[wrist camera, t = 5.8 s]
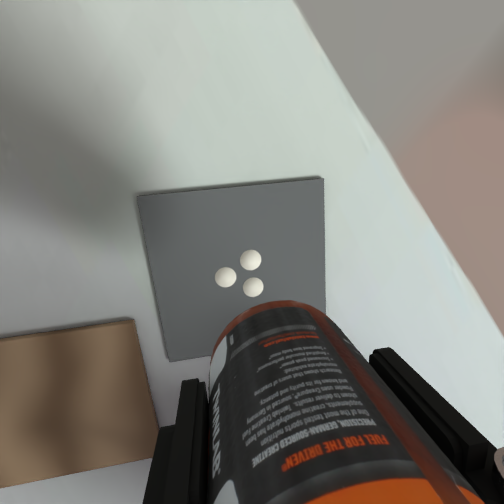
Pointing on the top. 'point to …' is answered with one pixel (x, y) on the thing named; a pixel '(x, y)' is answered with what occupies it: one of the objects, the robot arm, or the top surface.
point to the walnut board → (73, 402)
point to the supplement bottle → (313, 420)
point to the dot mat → (232, 256)
